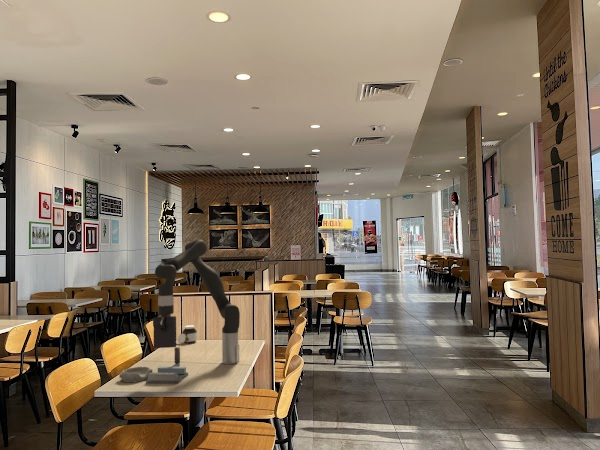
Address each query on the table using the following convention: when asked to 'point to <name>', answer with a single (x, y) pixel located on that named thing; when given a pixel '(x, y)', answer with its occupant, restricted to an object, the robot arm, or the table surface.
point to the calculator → (165, 333)
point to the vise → (165, 378)
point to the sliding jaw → (175, 367)
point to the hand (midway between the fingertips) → (166, 338)
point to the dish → (135, 374)
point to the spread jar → (188, 335)
